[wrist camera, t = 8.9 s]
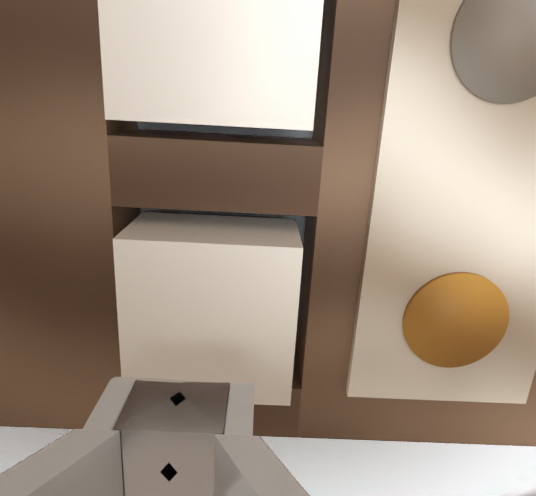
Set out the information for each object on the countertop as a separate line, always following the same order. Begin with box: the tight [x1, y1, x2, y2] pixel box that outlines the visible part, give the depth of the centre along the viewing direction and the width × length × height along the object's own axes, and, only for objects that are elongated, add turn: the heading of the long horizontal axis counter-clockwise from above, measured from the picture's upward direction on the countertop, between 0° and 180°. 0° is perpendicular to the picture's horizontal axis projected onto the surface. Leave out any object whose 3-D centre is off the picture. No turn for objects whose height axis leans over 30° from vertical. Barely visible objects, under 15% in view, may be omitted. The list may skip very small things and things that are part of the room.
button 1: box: [113, 212, 303, 406], centre depth 14 cm, size 5×5×3 cm
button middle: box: [98, 0, 324, 131], centre depth 11 cm, size 5×5×3 cm
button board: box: [0, 0, 536, 446], centre depth 12 cm, size 26×20×4 cm
